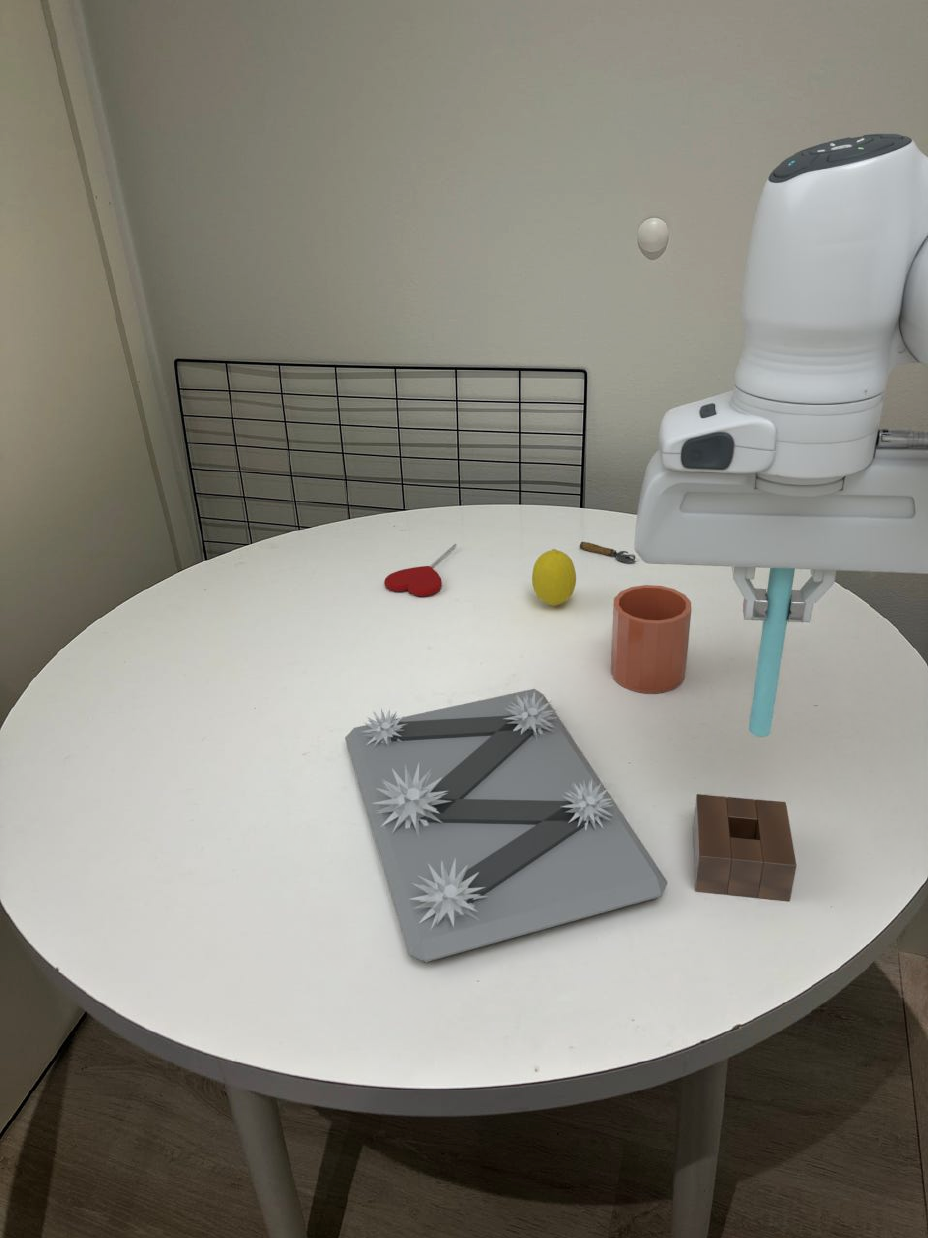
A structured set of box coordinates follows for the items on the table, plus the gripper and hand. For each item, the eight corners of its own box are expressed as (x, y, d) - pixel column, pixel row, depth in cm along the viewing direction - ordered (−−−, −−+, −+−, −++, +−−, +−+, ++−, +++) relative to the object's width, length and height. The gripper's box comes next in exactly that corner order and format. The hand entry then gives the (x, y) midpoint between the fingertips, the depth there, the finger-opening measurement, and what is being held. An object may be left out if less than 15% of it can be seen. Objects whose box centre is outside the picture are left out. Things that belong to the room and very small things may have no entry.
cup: (684, 655, 103) (690, 586, 99) (685, 696, 96) (692, 624, 92) (612, 650, 105) (615, 583, 100) (608, 691, 98) (611, 620, 93)
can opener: (578, 549, 128) (578, 542, 128) (588, 544, 130) (588, 536, 129) (632, 567, 123) (633, 559, 122) (642, 560, 125) (642, 553, 124)
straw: (769, 725, 69) (795, 551, 62) (771, 738, 68) (798, 561, 60) (747, 723, 69) (770, 550, 62) (749, 736, 68) (773, 560, 61)
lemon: (523, 605, 115) (522, 550, 111) (554, 591, 118) (554, 536, 114) (554, 621, 111) (554, 564, 107) (584, 605, 114) (585, 549, 110)
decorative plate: (672, 904, 72) (678, 840, 69) (413, 977, 67) (405, 912, 64) (540, 700, 97) (539, 644, 94) (345, 743, 92) (336, 686, 89)
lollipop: (431, 543, 132) (378, 588, 121) (430, 537, 132) (377, 582, 120) (480, 552, 129) (431, 599, 117) (480, 546, 128) (430, 593, 117)
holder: (779, 836, 78) (785, 801, 76) (789, 901, 72) (796, 866, 70) (692, 828, 79) (696, 793, 77) (695, 891, 73) (699, 856, 71)
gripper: (966, 413, 57) (922, 602, 64) (640, 412, 61) (632, 589, 68) (997, 448, 52) (945, 649, 59) (638, 444, 56) (629, 633, 63)
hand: (775, 617), depth 64 cm, fingers closed on straw, 1 cm apart
